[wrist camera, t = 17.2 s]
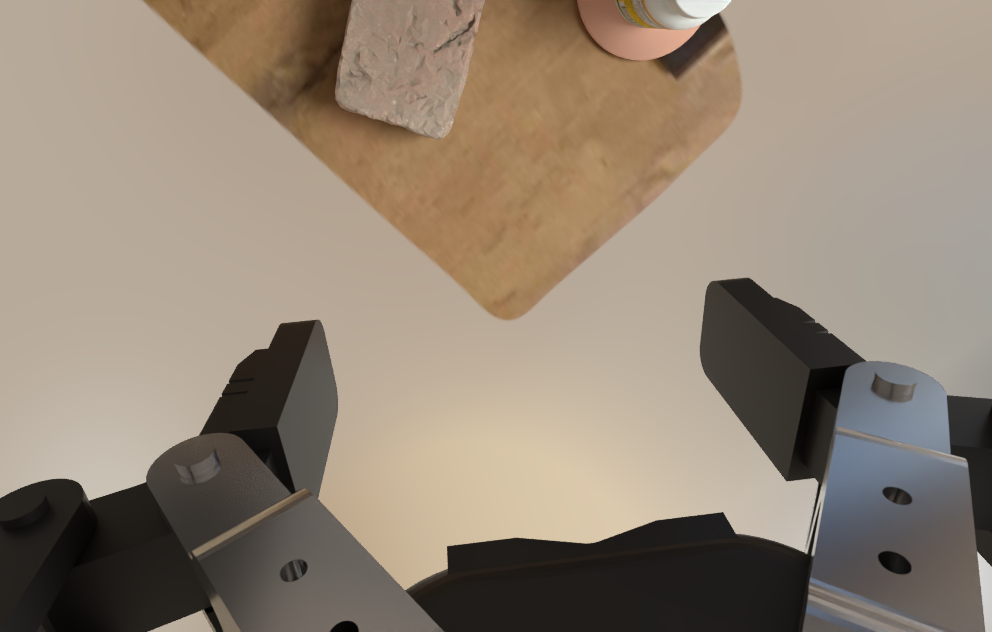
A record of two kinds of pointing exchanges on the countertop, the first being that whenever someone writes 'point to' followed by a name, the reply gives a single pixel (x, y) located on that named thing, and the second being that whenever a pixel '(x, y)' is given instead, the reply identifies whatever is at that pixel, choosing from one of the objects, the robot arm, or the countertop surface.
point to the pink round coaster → (628, 32)
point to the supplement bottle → (669, 12)
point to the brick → (407, 61)
